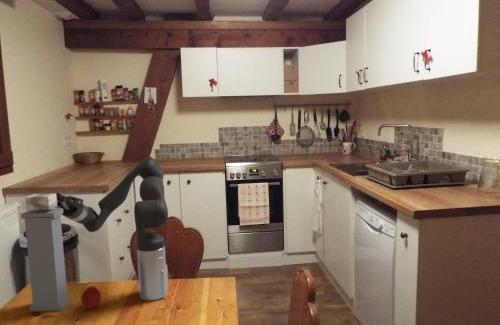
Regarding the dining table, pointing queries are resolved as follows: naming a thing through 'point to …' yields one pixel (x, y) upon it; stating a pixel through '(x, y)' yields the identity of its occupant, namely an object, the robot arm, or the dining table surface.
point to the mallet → (41, 201)
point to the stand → (46, 259)
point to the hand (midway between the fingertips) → (51, 195)
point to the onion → (91, 297)
